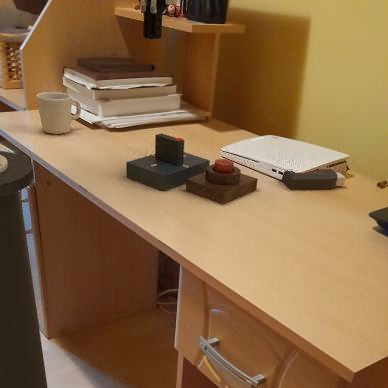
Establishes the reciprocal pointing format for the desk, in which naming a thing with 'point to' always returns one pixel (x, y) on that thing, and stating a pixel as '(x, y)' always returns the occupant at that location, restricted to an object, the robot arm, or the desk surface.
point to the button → (223, 166)
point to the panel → (165, 170)
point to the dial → (169, 149)
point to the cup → (56, 111)
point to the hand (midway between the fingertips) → (152, 37)
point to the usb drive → (313, 179)
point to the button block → (221, 184)
